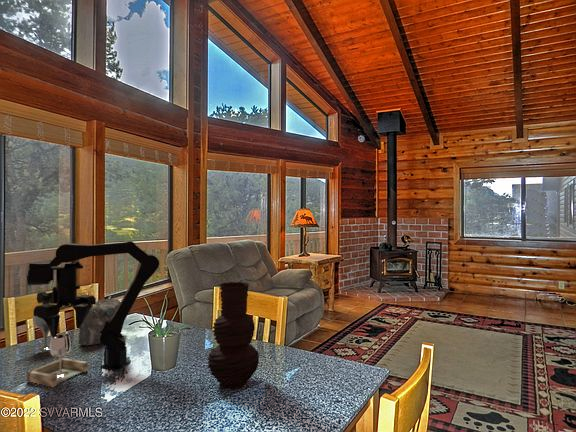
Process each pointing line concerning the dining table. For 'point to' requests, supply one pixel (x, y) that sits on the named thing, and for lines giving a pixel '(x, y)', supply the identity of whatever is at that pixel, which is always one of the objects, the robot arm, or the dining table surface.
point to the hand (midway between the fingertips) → (66, 332)
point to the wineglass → (60, 350)
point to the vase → (233, 339)
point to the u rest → (46, 372)
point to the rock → (96, 321)
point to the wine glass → (44, 328)
